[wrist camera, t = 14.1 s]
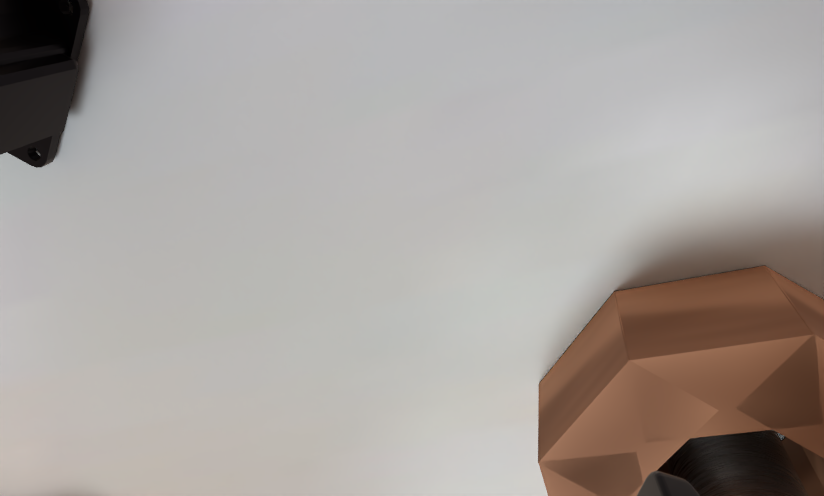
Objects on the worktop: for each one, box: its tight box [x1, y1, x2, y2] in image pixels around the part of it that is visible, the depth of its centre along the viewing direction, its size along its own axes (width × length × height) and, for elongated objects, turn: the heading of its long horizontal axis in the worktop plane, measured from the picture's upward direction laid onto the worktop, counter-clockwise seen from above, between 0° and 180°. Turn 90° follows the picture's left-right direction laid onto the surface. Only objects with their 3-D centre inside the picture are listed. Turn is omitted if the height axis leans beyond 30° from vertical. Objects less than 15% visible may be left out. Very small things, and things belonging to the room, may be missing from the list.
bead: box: [538, 266, 824, 496], centre depth 20 cm, size 11×11×4 cm
